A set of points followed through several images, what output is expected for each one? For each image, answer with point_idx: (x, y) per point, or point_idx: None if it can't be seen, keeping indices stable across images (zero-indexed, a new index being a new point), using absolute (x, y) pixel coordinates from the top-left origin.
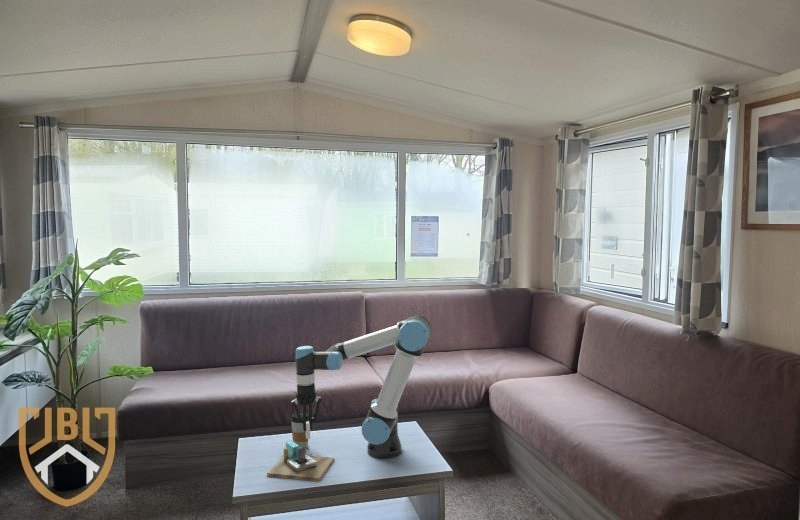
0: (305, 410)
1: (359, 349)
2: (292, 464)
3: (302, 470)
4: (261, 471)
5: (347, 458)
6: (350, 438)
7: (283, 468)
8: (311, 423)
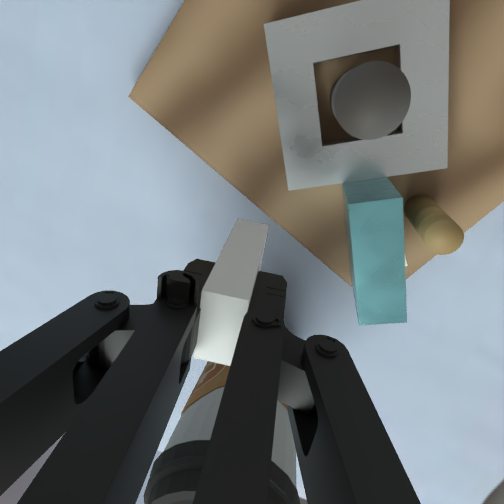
0: (200, 498)
1: None
2: (446, 72)
3: None
4: None
5: (56, 82)
6: (7, 304)
7: (487, 113)
8: (181, 271)
